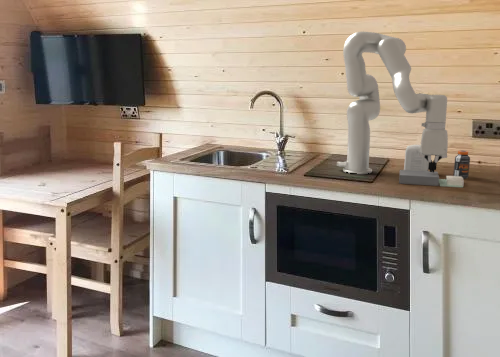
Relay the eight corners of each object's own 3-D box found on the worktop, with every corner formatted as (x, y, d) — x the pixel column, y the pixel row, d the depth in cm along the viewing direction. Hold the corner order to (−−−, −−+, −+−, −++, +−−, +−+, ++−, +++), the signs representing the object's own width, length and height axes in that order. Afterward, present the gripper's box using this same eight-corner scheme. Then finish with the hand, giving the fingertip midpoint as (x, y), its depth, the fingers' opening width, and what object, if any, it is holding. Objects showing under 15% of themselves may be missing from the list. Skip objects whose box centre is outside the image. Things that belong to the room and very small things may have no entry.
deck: (398, 183, 213) (399, 175, 212) (399, 177, 223) (399, 169, 222) (438, 185, 209) (439, 177, 208) (436, 179, 219) (437, 171, 218)
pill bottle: (458, 179, 220) (460, 152, 218) (450, 176, 226) (452, 149, 224) (471, 178, 222) (473, 151, 219) (463, 175, 227) (465, 149, 225)
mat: (439, 186, 208) (439, 185, 208) (438, 179, 219) (438, 178, 219) (462, 187, 206) (463, 186, 206) (459, 180, 217) (460, 180, 217)
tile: (463, 180, 207) (463, 185, 207) (462, 176, 214) (461, 181, 215) (447, 179, 209) (447, 184, 209) (446, 175, 216) (445, 180, 216)
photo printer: (428, 172, 233) (430, 144, 231) (427, 174, 230) (429, 146, 227) (404, 170, 237) (406, 143, 235) (403, 172, 233) (405, 144, 231)
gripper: (415, 126, 208) (412, 172, 212) (456, 128, 204) (452, 174, 208) (415, 124, 215) (412, 169, 219) (454, 125, 211) (451, 170, 215)
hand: (432, 171), depth 214 cm, fingers closed
